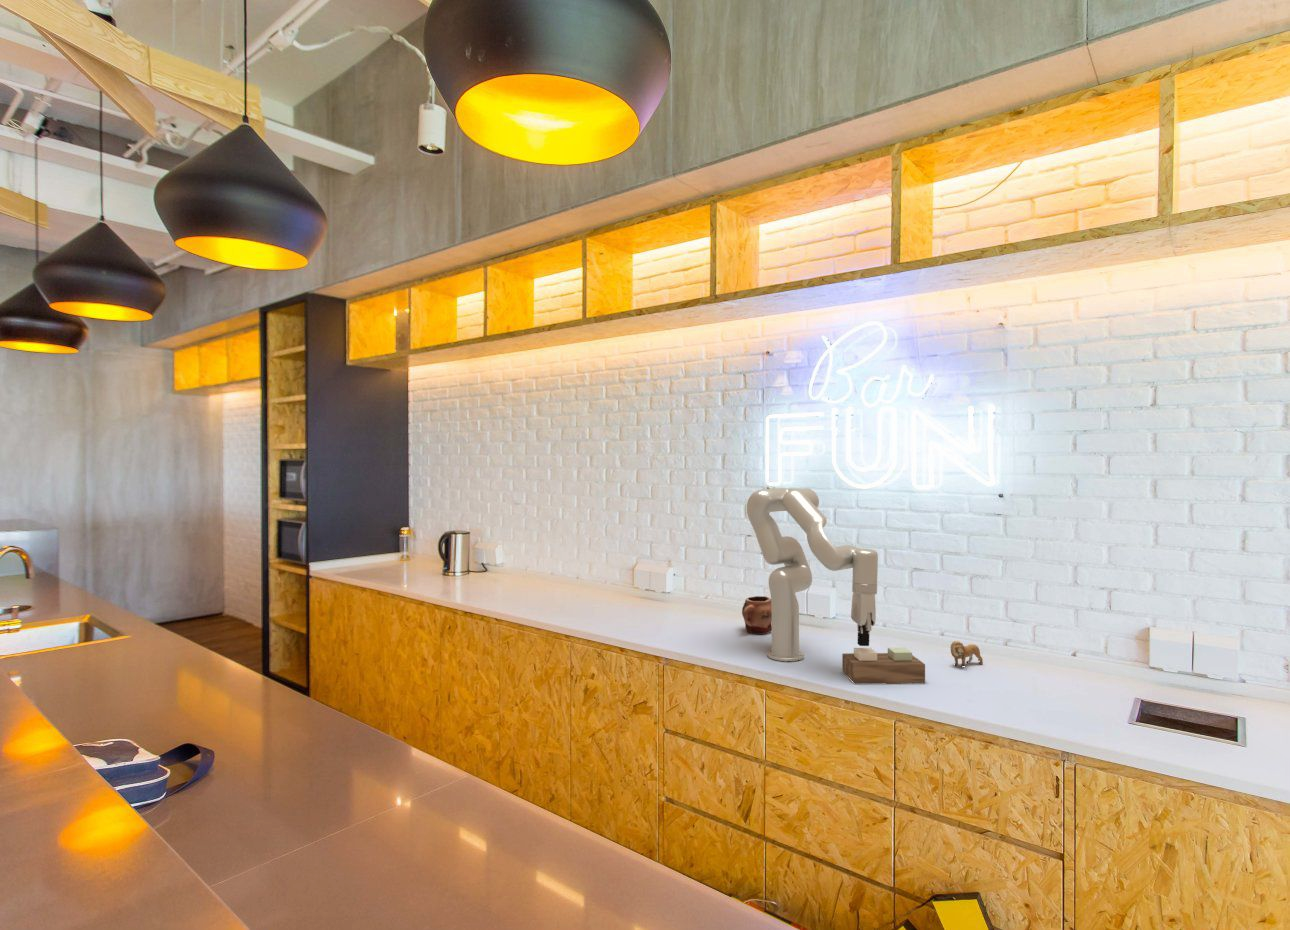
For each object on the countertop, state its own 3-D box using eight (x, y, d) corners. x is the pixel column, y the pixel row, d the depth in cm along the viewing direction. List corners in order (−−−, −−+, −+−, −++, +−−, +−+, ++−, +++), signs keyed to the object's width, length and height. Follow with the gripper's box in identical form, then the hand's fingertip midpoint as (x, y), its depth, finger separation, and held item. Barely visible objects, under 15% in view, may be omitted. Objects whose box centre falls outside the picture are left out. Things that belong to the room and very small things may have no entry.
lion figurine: (960, 671, 217) (960, 643, 217) (946, 667, 222) (946, 640, 222) (986, 663, 225) (986, 637, 225) (972, 659, 230) (972, 633, 230)
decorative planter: (760, 640, 255) (760, 604, 255) (732, 635, 262) (732, 600, 262) (781, 629, 272) (781, 595, 272) (754, 625, 279) (754, 592, 279)
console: (842, 671, 217) (842, 653, 217) (909, 671, 217) (909, 653, 217) (854, 684, 205) (854, 664, 205) (925, 683, 205) (925, 664, 205)
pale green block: (887, 669, 214) (887, 647, 214) (905, 669, 214) (905, 647, 214) (894, 674, 208) (894, 652, 208) (912, 674, 209) (912, 652, 208)
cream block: (853, 669, 214) (853, 647, 214) (871, 669, 214) (871, 647, 214) (859, 675, 208) (859, 652, 208) (877, 674, 208) (877, 652, 208)
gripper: (845, 583, 219) (844, 638, 219) (860, 593, 204) (859, 652, 204) (868, 583, 219) (867, 638, 219) (885, 593, 204) (883, 652, 204)
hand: (863, 645), depth 212 cm, fingers closed
